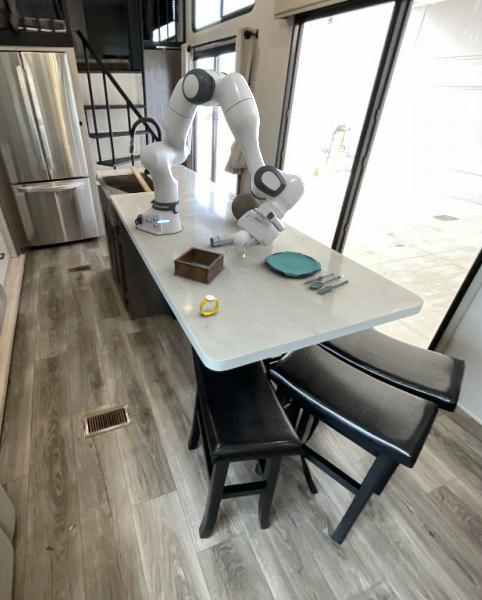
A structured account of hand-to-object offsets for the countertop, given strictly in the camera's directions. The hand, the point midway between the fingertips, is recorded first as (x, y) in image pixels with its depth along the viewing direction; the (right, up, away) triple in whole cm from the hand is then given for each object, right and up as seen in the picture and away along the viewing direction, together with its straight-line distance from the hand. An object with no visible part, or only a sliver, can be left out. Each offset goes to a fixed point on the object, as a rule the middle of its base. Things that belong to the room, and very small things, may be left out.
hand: (240, 244), depth 117 cm
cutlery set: (+23, -11, +2) cm, 25 cm away
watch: (-13, -25, -21) cm, 35 cm away
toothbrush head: (+3, +4, +24) cm, 25 cm away
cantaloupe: (+9, +19, +47) cm, 52 cm away
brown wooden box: (-15, -10, +2) cm, 18 cm away
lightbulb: (+1, -5, +4) cm, 6 cm away
